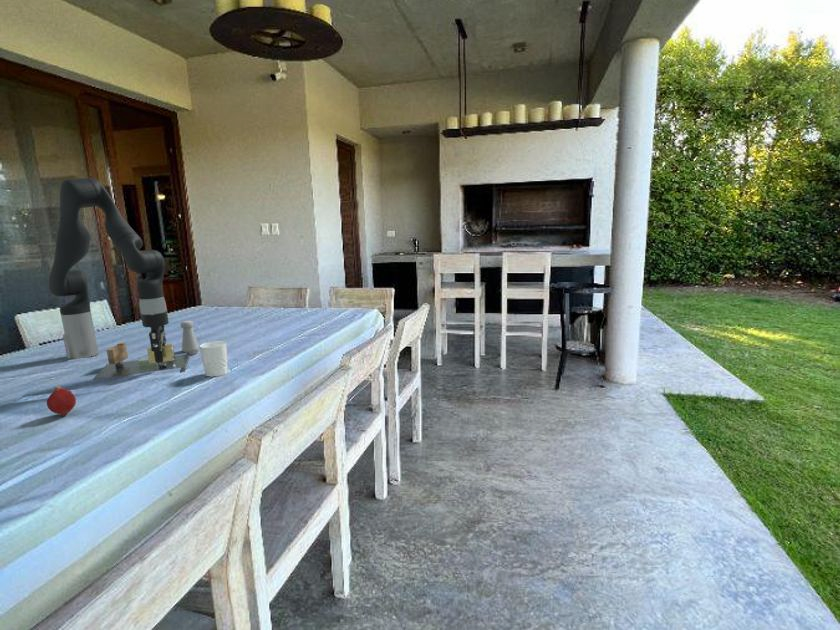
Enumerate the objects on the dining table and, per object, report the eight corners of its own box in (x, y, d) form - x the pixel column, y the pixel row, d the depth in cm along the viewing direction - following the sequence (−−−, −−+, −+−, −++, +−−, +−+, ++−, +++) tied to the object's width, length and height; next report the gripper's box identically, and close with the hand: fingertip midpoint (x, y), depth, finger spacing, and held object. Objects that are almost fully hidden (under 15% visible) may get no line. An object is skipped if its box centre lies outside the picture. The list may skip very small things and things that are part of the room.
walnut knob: (116, 369, 148) (113, 348, 147) (109, 369, 148) (105, 348, 147) (129, 362, 155) (125, 342, 154) (122, 363, 155) (118, 343, 154)
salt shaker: (192, 356, 167) (187, 323, 164) (179, 356, 168) (174, 322, 165) (202, 352, 172) (198, 319, 170) (189, 351, 173) (185, 319, 171)
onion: (60, 411, 118) (54, 383, 117) (83, 409, 119) (77, 381, 117) (44, 420, 113) (38, 391, 111) (68, 419, 113) (62, 389, 112)
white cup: (234, 370, 148) (231, 341, 146) (217, 378, 141) (213, 348, 139) (216, 369, 150) (212, 340, 148) (198, 376, 143) (193, 346, 141)
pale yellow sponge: (150, 368, 147) (146, 347, 146) (151, 366, 150) (147, 346, 148) (173, 365, 150) (170, 345, 149) (174, 363, 152) (171, 343, 151)
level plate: (93, 384, 139) (89, 367, 138) (107, 368, 156) (105, 353, 155) (185, 371, 149) (182, 355, 148) (190, 357, 165) (187, 343, 164)
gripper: (144, 309, 151) (152, 355, 154) (136, 316, 138) (144, 366, 141) (169, 306, 154) (176, 352, 157) (163, 313, 141) (171, 363, 144)
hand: (161, 358), depth 149 cm, fingers open, 7 cm apart
